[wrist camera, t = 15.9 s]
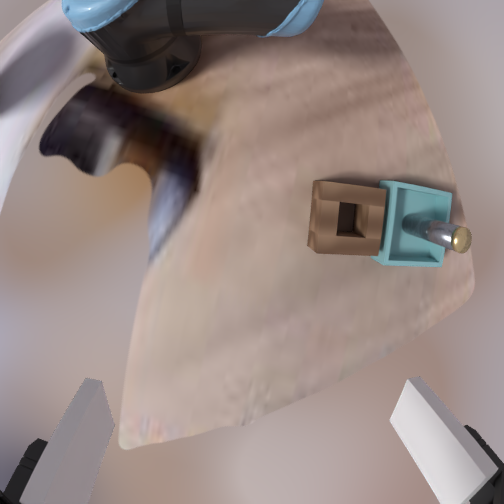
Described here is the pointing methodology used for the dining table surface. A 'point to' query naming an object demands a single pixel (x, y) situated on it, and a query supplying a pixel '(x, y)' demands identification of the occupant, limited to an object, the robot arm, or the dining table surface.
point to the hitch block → (365, 219)
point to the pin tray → (393, 237)
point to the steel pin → (438, 232)
